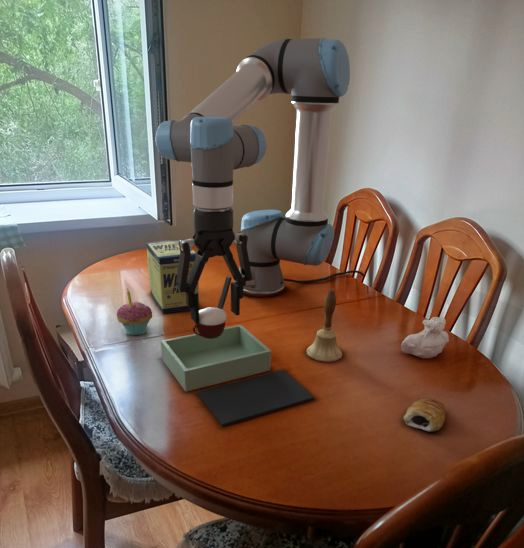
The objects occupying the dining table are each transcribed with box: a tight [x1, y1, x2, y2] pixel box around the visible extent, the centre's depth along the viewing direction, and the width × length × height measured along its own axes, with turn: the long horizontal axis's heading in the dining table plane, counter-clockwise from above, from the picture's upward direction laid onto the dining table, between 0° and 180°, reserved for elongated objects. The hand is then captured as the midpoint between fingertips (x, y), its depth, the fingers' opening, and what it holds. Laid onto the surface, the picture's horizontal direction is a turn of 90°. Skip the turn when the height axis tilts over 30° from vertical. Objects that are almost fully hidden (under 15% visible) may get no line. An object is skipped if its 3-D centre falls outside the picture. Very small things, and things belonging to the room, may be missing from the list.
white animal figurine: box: [400, 316, 450, 359], centre depth 113 cm, size 12×8×11 cm
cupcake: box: [116, 288, 153, 336], centre depth 120 cm, size 9×8×12 cm
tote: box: [160, 324, 272, 393], centre depth 108 cm, size 20×15×5 cm
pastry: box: [403, 397, 447, 433], centre depth 93 cm, size 9×7×4 cm
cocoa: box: [192, 275, 233, 339], centre depth 102 cm, size 10×6×12 cm, turn 111°
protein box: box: [145, 239, 200, 315], centre depth 136 cm, size 10×16×16 cm
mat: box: [196, 369, 315, 427], centre depth 98 cm, size 20×12×1 cm, turn 119°
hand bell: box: [306, 288, 343, 363], centre depth 111 cm, size 8×8×16 cm
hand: (215, 316), depth 104 cm, fingers closed on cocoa, 8 cm apart
